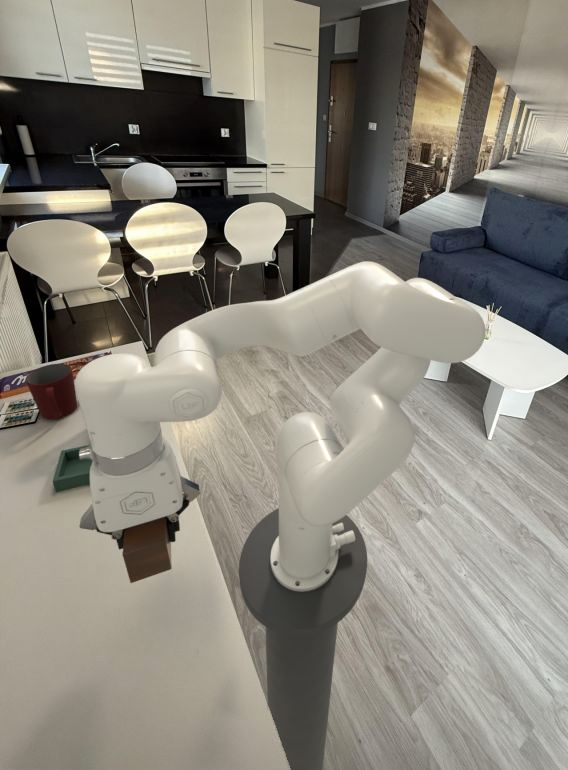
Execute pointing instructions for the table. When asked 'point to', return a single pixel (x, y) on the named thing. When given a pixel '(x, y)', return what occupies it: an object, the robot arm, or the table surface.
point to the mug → (53, 390)
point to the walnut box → (147, 549)
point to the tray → (71, 470)
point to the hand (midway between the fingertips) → (151, 539)
